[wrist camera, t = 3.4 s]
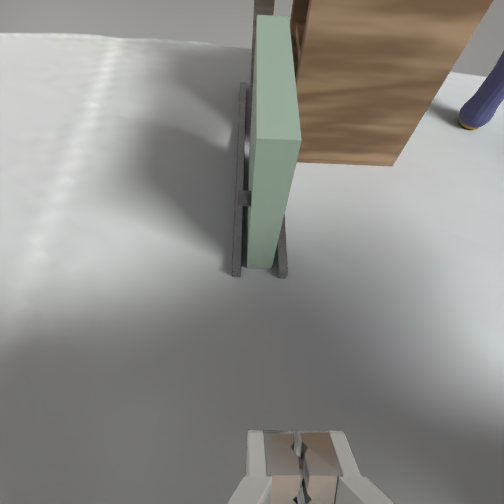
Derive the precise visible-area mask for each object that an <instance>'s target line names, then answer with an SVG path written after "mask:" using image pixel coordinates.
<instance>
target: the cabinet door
mask: <svg viewBox="0 0 504 504" xmlns="http://www.w3.org/2000/svg"><path fill="white" fill-rule="evenodd" d="M301 141H302V140H301V130H300V120H299V111H298V101H297V91H296V82H295V72H294V62H293V53H292V43H291V33H290V24H289V17H286V16H270V15H257V20H256V39H255V57H254V76H253V94H252V113H251V131H250V150H249V172H248V191H245V190H238V206H248V225H247V268H267V269H272V264H273V260H274V256H275V251H276V247H277V243H278V239H279V234H280V230H281V226H282V222H283V217H284V213H285V209H286V205H287V200H288V196H289V192H290V188H291V183H292V179H293V175H294V171H295V166H296V162H297V158H298V154H299V149H300V145H301Z"/></svg>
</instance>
